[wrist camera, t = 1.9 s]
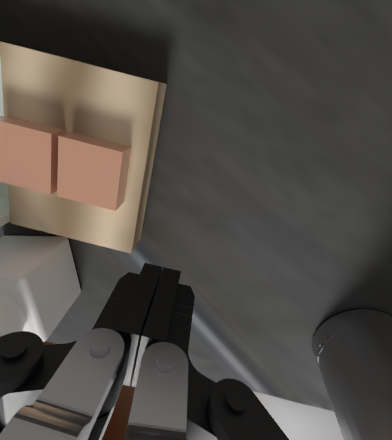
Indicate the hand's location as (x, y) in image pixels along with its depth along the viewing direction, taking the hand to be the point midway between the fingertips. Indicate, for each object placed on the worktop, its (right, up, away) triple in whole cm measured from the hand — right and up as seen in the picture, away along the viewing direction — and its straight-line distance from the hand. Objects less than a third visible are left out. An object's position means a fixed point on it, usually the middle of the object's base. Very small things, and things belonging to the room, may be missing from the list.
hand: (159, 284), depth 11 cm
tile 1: (-6, +7, +10) cm, 14 cm away
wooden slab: (-8, +8, +13) cm, 17 cm away
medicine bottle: (-15, -2, +19) cm, 24 cm away
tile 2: (-11, +8, +10) cm, 17 cm away
